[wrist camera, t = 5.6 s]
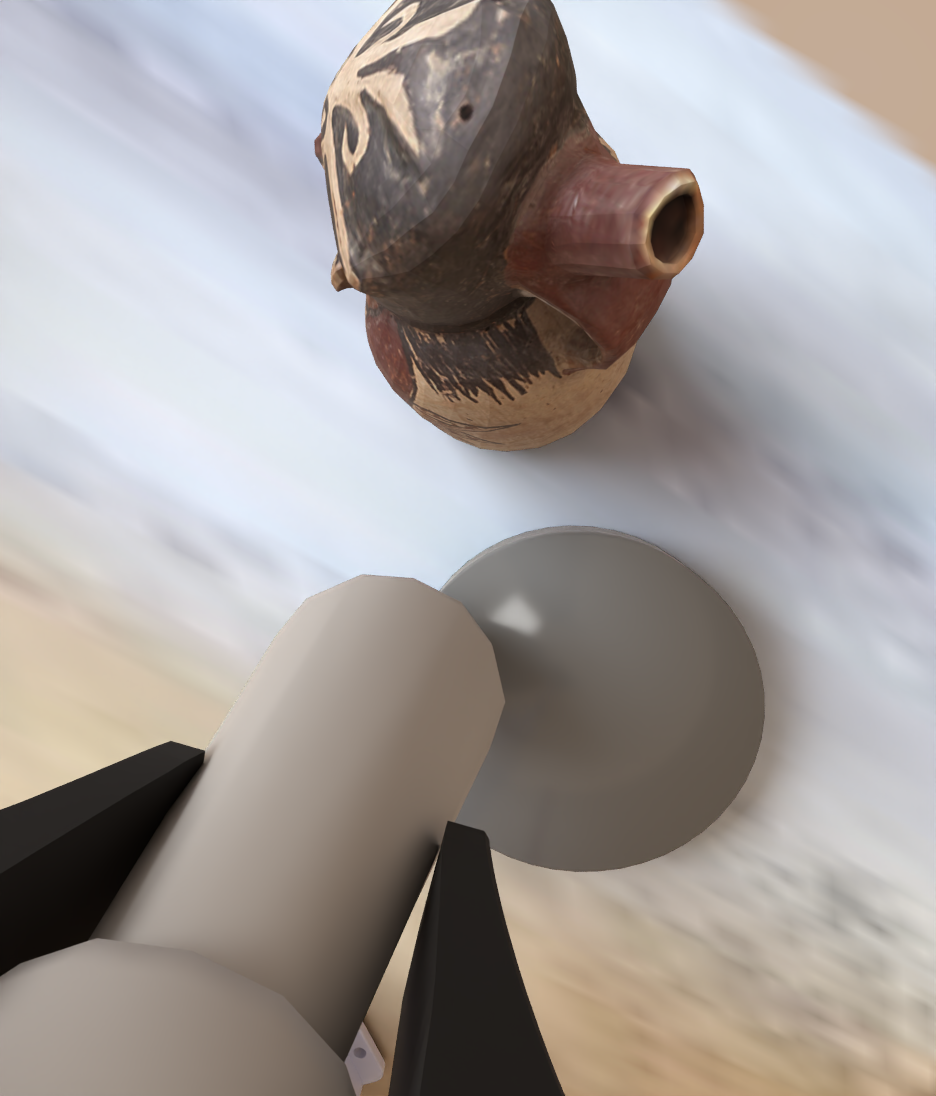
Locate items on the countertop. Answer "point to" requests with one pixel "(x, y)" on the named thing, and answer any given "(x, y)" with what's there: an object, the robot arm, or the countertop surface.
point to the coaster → (606, 699)
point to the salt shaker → (274, 866)
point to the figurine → (493, 221)
